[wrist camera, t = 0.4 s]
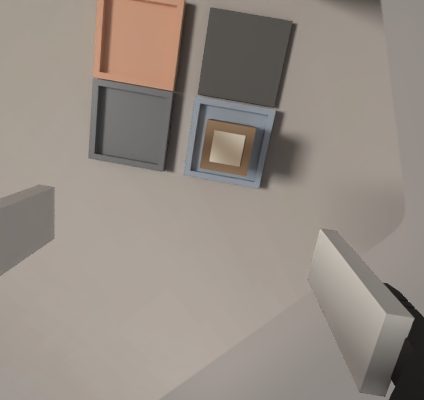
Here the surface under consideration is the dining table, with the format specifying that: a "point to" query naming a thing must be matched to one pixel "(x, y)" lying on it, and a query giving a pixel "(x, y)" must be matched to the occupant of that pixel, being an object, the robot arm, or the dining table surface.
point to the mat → (243, 57)
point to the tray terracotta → (139, 41)
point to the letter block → (227, 147)
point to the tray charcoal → (130, 124)
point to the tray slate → (235, 114)
